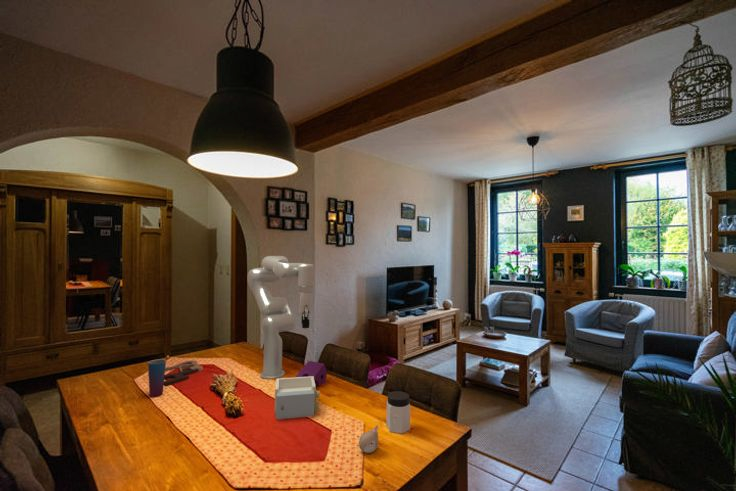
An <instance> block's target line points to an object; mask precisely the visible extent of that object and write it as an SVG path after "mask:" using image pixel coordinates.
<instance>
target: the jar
mask: <svg viewBox="0 0 736 491" xmlns="http://www.w3.org/2000/svg"><path fill="white" fill-rule="evenodd" d="M386 427H387V429H388V430H389V433H395V434H400V435H401V434H404V433H406V432H408V431H410V430H411V404H410V395H409V393H407V392H404V391H400V390H395V391H391V392H389V393H388V394H387V400H386Z"/></svg>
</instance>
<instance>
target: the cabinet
mask: <svg viewBox="0 0 736 491" xmlns="http://www.w3.org/2000/svg"><path fill="white" fill-rule="evenodd" d="M316 386H317V385H316V384H315V381H314V376H309V377H296V376H295V377H284V378H283V377H279V378H275V389H274V415H275V416H276V398H277V393H280V392H293V391H307V390H314V412H317V410H320V407H321V406H320V404H321V403H320V402H319V401H317V399H320V395H321V391H320V390H317V388H316Z"/></svg>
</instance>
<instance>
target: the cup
mask: <svg viewBox="0 0 736 491" xmlns="http://www.w3.org/2000/svg"><path fill="white" fill-rule="evenodd" d="M147 364H148V368H147V369H148V372H149V374H148V386H149V387H148V390H149V397H150V398H159V397H161V396H163V393H164V387H165V386H164V381H165V380H164V376H165V375H166V371H165V368H166V364H167V360H166V359H164V358H163V359H162V358H160V359H153V360H149V361H148V362H147Z"/></svg>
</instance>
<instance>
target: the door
mask: <svg viewBox="0 0 736 491" xmlns="http://www.w3.org/2000/svg"><path fill="white" fill-rule="evenodd" d="M307 416H309V417H314V416H315V411H314V390H307V391H293V392H280V393H277V398H276V415H275V420H276V419H277V420H286V418H287V419H295V418H308V417H307Z"/></svg>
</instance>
